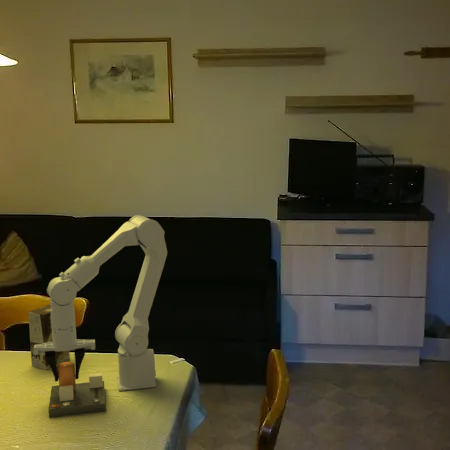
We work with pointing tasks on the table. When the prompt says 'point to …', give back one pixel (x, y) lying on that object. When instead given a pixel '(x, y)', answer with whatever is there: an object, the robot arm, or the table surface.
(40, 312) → the coffee box
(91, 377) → the block
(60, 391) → the block
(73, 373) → the cap
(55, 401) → the breaker panel
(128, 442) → the table surface
